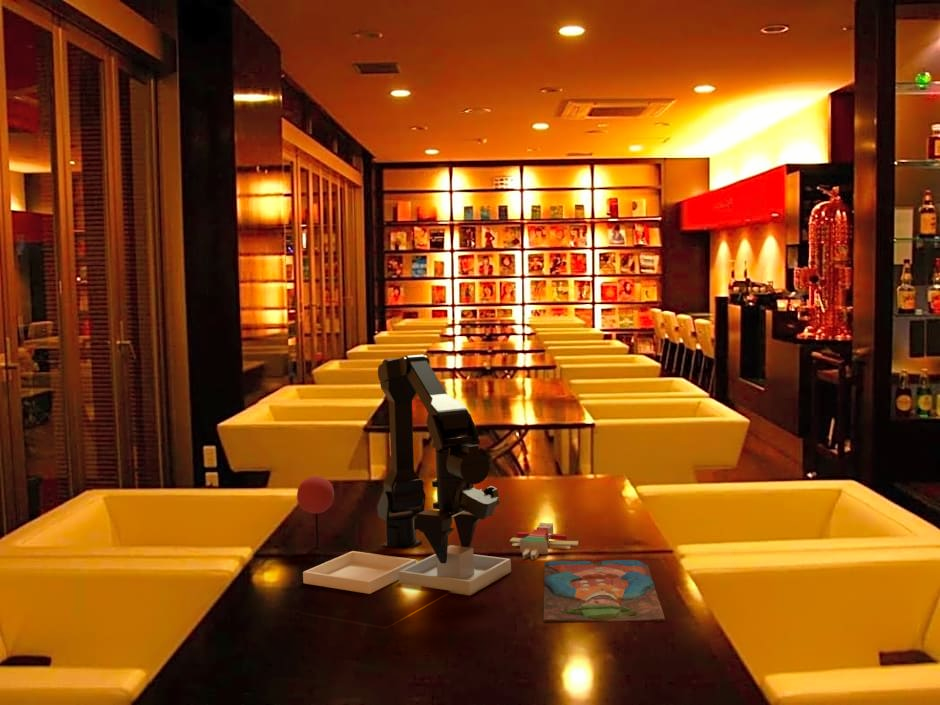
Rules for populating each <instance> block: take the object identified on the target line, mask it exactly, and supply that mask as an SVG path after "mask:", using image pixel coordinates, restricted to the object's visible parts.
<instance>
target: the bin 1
mask: <svg viewBox="0 0 940 705" xmlns="http://www.w3.org/2000/svg"><path fill="white" fill-rule="evenodd" d="M415 563H417V559H414V558H413V559H412V558H407V557H399V556H392V555H386V554H385V555H384V554H377V553H370V552H362V551H354V550H352V551H349V552H346V553H345V554H342V555H340V556H338V557H335V558H333V559H332V558H331V559H330V560H328V561H325V562H324V563H321V564H319V565H316V566H314V567H311V568H309V569H307V570H304V571H303V572H302V580H303V581H302V582H303V584H306V585H311V586H319V587H325V588H330V589H331V588H332V589H338V590H343V591H344V590H345V591H350V592H355V593H363V594H369V595H371V594H373V593H375V592H377V591H378V590H381V589H382V588H385V587H387V586H389V585H391V584H392V583H395V582H397V581H399V571H401V570H403V569H405V568H407V567H409V566H411V565H413V564H415Z"/></svg>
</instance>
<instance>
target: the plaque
mask: <svg viewBox="0 0 940 705" xmlns="http://www.w3.org/2000/svg"><path fill="white" fill-rule="evenodd" d="M543 575H544V578H543V582H544V583H543V586H544V588H543V623H606V622H607V623H609V622H610V623H614V622H615V623H617V622H622V623H624V622H625V623H627V622H629V623H630V622H633V623H634V622H643V623H644V622H666V619H665V618H666V617H665V614H664V611H663V608H662V605H661V602H660V599H659V594H658V593H657V591H656V586H655V582H654V581H653V580H654V579H653V578H652V575H651V571H650V567H649V565H648V564H645V563H644V562H642V561H640V560H637V559H620V560H619V559H615V560H610V559H609V560H602V561H601V562H598V561H597V562H595V561H594V562H593V561H589V560H549V561H547V562H545V563H544V573H543Z"/></svg>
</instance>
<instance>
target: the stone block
mask: <svg viewBox="0 0 940 705" xmlns="http://www.w3.org/2000/svg"><path fill="white" fill-rule="evenodd" d="M473 554H474V547H471V546H470V547H462V546H460V545H453V544H450V545H448V548H447V561H446V563H445V564H444V563H440V561H439V559H438V557H437V556H436V558H437V576H442V577H449V578H456V579H463V580H464V579H466V578H468V577H470V576H472V575H473V574H474V555H473Z"/></svg>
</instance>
